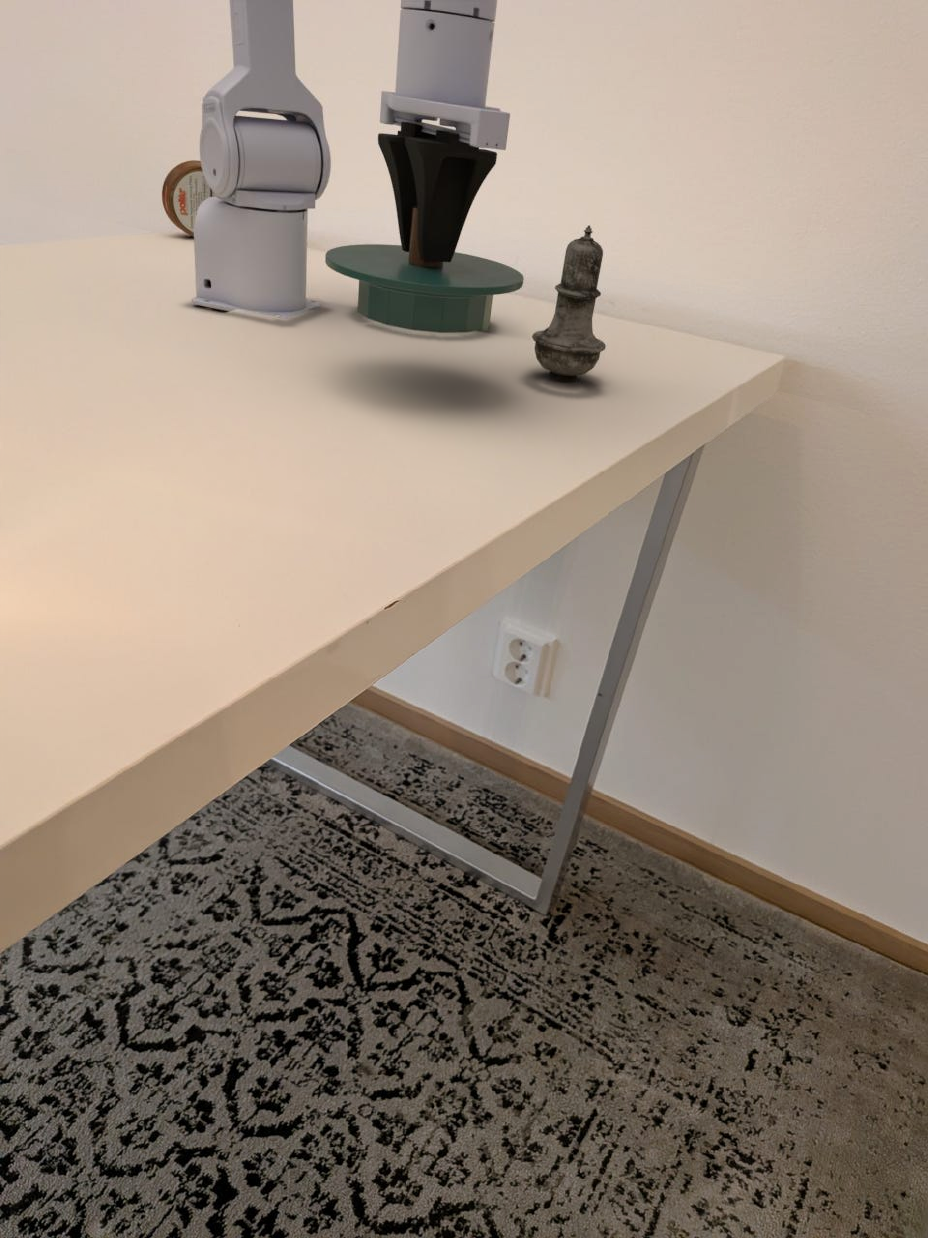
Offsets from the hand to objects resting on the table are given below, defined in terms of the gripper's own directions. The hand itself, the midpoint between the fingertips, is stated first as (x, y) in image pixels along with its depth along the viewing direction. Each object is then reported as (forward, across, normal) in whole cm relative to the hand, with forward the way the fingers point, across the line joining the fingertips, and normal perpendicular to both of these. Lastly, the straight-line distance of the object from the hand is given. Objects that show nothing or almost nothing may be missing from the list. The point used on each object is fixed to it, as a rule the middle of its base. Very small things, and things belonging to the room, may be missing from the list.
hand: (426, 256), depth 60 cm
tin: (+10, +60, -2) cm, 61 cm away
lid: (+1, 0, 0) cm, 1 cm away
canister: (+10, +21, -10) cm, 25 cm away
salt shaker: (+10, +1, -13) cm, 17 cm away
